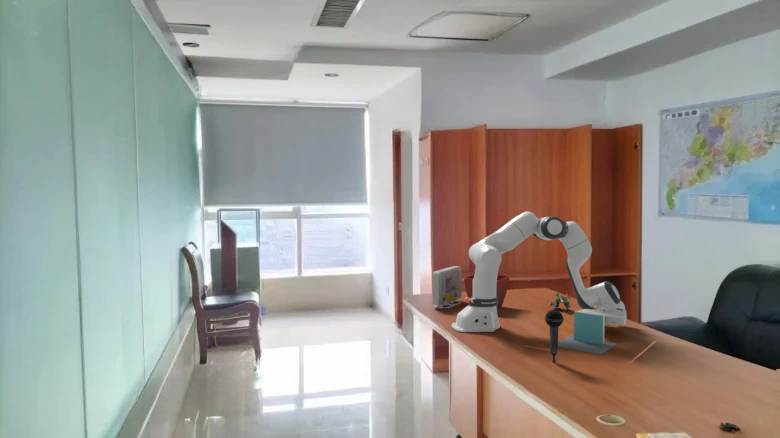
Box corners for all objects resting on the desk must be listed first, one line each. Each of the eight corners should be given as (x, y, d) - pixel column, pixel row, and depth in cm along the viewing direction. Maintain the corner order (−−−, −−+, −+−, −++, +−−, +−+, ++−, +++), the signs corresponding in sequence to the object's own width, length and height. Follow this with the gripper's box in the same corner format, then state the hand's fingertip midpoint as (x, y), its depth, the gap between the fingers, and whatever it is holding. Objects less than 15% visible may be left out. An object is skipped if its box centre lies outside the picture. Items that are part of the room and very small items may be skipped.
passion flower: (567, 320, 292) (577, 305, 284) (547, 317, 290) (557, 302, 283) (561, 304, 300) (571, 289, 293) (542, 301, 299) (551, 286, 292)
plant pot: (510, 306, 303) (510, 275, 302) (497, 313, 287) (497, 281, 286) (477, 302, 313) (477, 272, 312) (463, 309, 297) (463, 278, 296)
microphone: (560, 366, 205) (561, 313, 204) (542, 363, 209) (542, 310, 208) (565, 361, 211) (565, 309, 210) (547, 358, 215) (547, 307, 213)
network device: (452, 299, 321) (452, 265, 319) (466, 301, 316) (466, 266, 314) (429, 308, 300) (428, 271, 299) (443, 310, 295) (443, 273, 294)
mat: (569, 336, 243) (569, 335, 243) (616, 344, 231) (616, 343, 231) (552, 346, 230) (552, 345, 229) (601, 355, 217) (601, 354, 217)
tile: (575, 338, 238) (576, 310, 238) (604, 343, 231) (604, 315, 230) (573, 339, 237) (574, 311, 236) (602, 344, 229) (602, 316, 228)
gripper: (583, 304, 257) (572, 310, 246) (630, 310, 244) (619, 317, 233) (583, 317, 257) (571, 324, 246) (629, 325, 244) (619, 331, 233)
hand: (595, 320), depth 240 cm, fingers closed
